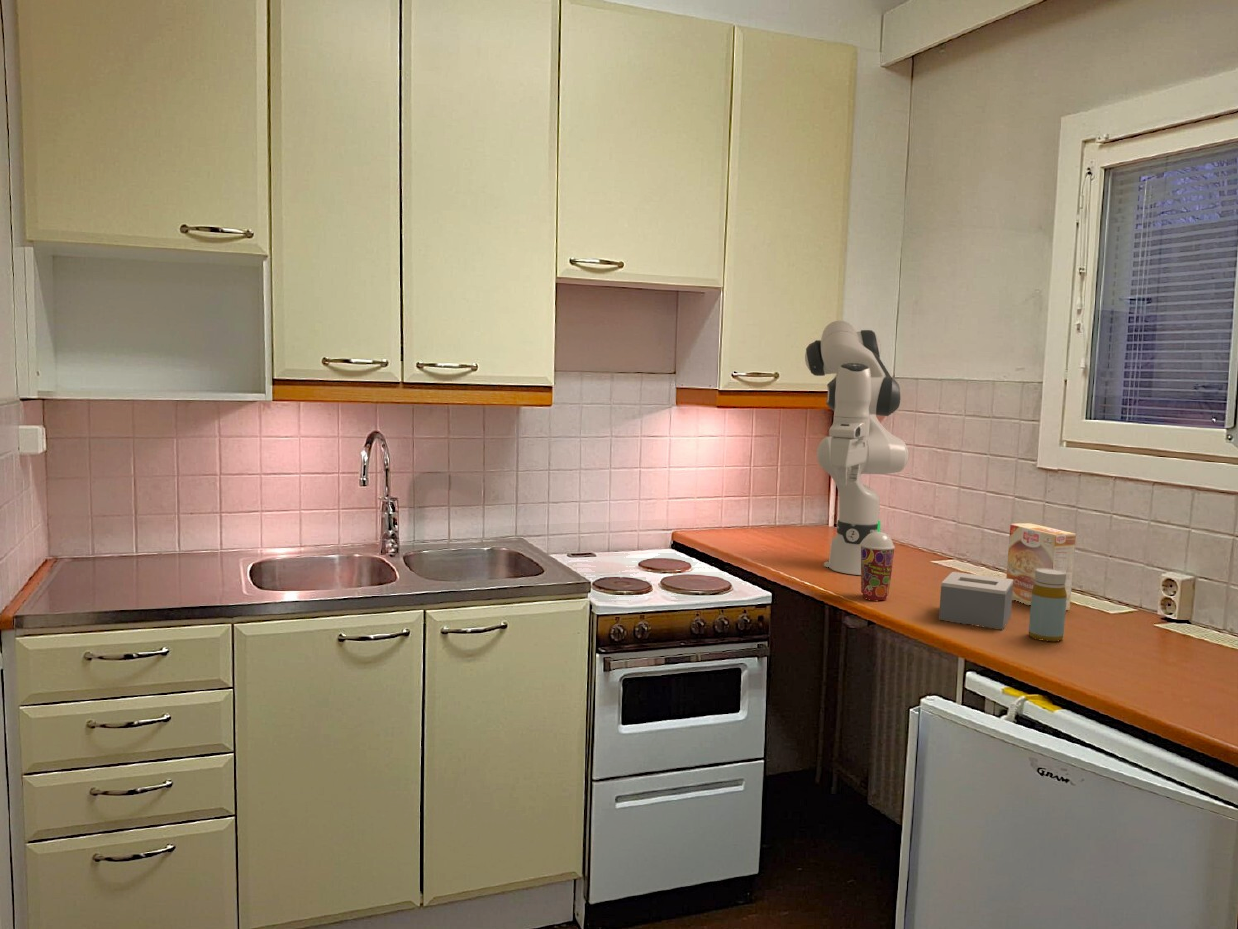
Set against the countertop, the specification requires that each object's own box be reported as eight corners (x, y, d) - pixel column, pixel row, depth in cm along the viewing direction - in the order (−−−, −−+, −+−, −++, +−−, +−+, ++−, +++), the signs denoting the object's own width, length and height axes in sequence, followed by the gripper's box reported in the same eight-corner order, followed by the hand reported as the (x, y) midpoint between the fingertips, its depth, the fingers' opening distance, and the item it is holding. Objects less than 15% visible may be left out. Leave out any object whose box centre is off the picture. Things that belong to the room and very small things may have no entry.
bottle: (1033, 631, 215) (1038, 566, 213) (1066, 637, 210) (1072, 571, 209) (1024, 637, 209) (1029, 571, 208) (1058, 644, 205) (1063, 576, 203)
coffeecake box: (1003, 597, 246) (1009, 523, 243) (1024, 596, 248) (1030, 522, 246) (1048, 612, 232) (1054, 534, 230) (1070, 610, 234) (1077, 532, 232)
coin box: (949, 607, 234) (952, 571, 233) (1010, 616, 227) (1013, 579, 226) (938, 620, 222) (941, 582, 221) (1002, 630, 215) (1005, 591, 214)
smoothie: (868, 603, 236) (873, 523, 234) (851, 595, 244) (856, 518, 241) (898, 601, 238) (903, 523, 236) (880, 593, 246) (885, 517, 244)
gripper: (850, 425, 249) (847, 478, 250) (827, 429, 231) (824, 486, 232) (874, 427, 246) (871, 480, 247) (852, 431, 228) (849, 488, 229)
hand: (848, 483), depth 240 cm, fingers open, 8 cm apart
